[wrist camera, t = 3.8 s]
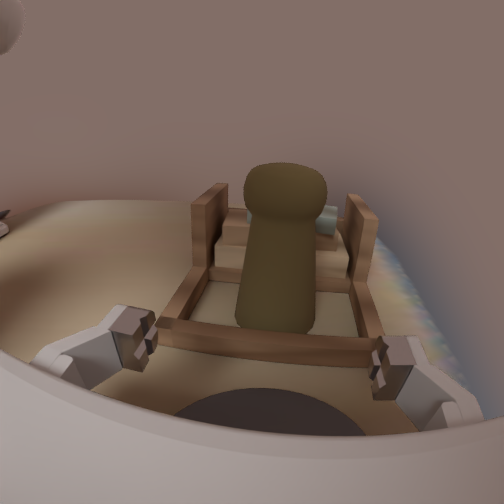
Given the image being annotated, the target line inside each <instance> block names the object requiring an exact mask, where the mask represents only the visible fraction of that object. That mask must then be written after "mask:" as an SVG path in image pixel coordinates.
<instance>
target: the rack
mask: <svg viewBox="0 0 504 504" xmlns="http://www.w3.org/2000/svg"><path fill="white" fill-rule="evenodd" d="M251 218H252V215H251V213H250V212H249V210H248V209H240V208H228V184H226V183H216V184H215V185H214V186H213V187H211V188H210V189H209V190H208V191H206V192H205V193H204V194H202V195H201V196H200V197H199V198H198V199H196V200H195V201H194V202H193V203H191V228H192V252H193V267H192V269H191V270H190V272H189V273H188V275H187V276H186V277H185V279H184V280H183V282H182V283H181V285H180V286H179V288H178V289H177V291H176V292H175V294H174V295H173V297H172V298H171V300H170V302H169V303H168V305H167V306H166V308H165V309H164V311H163V312H162V314H161V315H160V317H159V318H158V320H157V321H156V323H155V325H154V326H155V327H156V328H157V329H158V344H159V345H164V346H169V347H174V348H179V349H185V350H190V351H196V352H202V353H208V354H215V355H222V356H228V357H236V358H243V359H251V360H260V361H269V362H279V363H290V364H302V365H317V366H335V367H365V368H368V365H369V359H370V356H371V353H372V352H374V351H375V350H376V346H375V342H376V340H377V338H378V336H379V335H382V336H385V334H384V331H383V328H382V325H381V322H380V319H379V316H378V313H377V310H376V308H375V305H374V302H373V299H372V297H371V294H370V291H369V288H368V286H367V283H366V281H367V276H368V272H369V268H370V263H371V259H372V254H373V249H374V244H375V239H376V234H377V228H378V223H379V220H378V218H377V217H376V216H375V215H374V213H373V212H372V211H371V210H370V209H369V207H368V206H367V205H366V204H365V203H364V201H363V200H362V199H361V198H360V197H359V195H355V194H347V198H346V207H345V214H344V218H342V217H337V207H333V206H326V205H325V206H324V209H323V211H322V213H321V214H320V216H319V217H318V218H317V219H316V220H315V228H316V291H326V292H339V293H349V297H350V301H351V304H352V308H353V312H354V317H355V321H356V325H357V329H358V333H359V338H357V337H338V336H323V335H309V334H297V333H286V332H275V331H265V330H256V329H248V328H239V327H231V326H223V325H216V324H209V323H202V322H195V321H189V320H188V318H189V316H190V314H191V312H192V310H193V308H194V307H195V305H196V303H197V301H198V299H199V297H200V295H201V293H202V291H203V290H204V288H205V286H206V284H207V282H208V280H214V281H222V282H232V283H240V281H241V275H242V269H243V264H244V258H245V252H246V246H247V241H248V235H249V229H250V223H251Z"/></svg>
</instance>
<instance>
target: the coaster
mask: <svg viewBox="0 0 504 504" xmlns="http://www.w3.org/2000/svg"><path fill="white" fill-rule="evenodd" d="M174 416H176V417H180V418H185V419H189V420H194V421H199V422H204V423H209V424H214V425H220V426H226V427H232V428H239V429H246V430H253V431H261V432H271V433H281V434H294V435H311V436H366V435H365V434H364V432H363V431H362V430H361V429H360V428H359V427H358V426H357V425H356V424H355V423H354V422H353V421H352V420H351V419H350V418H348V417H347V416H346V415H345V414H343V413H342V412H340V411H339V410H337V409H336V408H334V407H332V406H330V405H328V404H326V403H325V402H322V401H320V400H318V399H315V398H313V397H310V396H307V395H303V394H300V393H296V392H291V391H286V390H279V389H268V388H249V389H239V390H233V391H228V392H223V393H219V394H216V395H212V396H209V397H207V398H204V399H201V400H199V401H197V402H195V403H193V404H191V405H189V406H187V407H186V408H184V409H182V410H181V411H179V412H178V413H176V414H175V415H174Z"/></svg>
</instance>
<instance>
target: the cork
mask: <svg viewBox="0 0 504 504" xmlns="http://www.w3.org/2000/svg"><path fill="white" fill-rule="evenodd" d="M326 199H327V186H326V182H325V180H324V178H323V176H322V175H321V174H320V173H319V172H318V171H316V170H314V169H312V168H309V167H306V166H302V165H298V164H293V163H269V164H263V165H259V166H256V167H255V168H253V169H252V170H251V171H250V172H249V174H248V176H247V178H246V181H245V184H244V201H245V205H246V207H247V209H248V210H249V212H250V213H251V215H252V218H251V223H250V229H249V235H248V241H247V246H246V252H245V258H244V264H243V269H242V275H241V281H240V287H239V293H238V299H237V304H236V310H235V319H236V321H237V324H238V325H239V326H240V327H241V328H248V329H256V330H265V331H275V332H286V333H297V334H306V333H307V332H308V331H309V330H310V329H311V328H312V327H313V324H314V321H315V293H316V228H315V220H316V219H317V218H318V217H319V216H320V214H321V213H322V211H323V209H324V206H325V203H326Z"/></svg>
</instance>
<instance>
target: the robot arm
mask: <svg viewBox="0 0 504 504" xmlns="http://www.w3.org/2000/svg"><path fill="white" fill-rule="evenodd" d="M24 25H25V10H24V7H23V5H22V3H21V2H20V1H19V0H0V56H1V55H3V54H5V53H8V52H9V51H10V50H11V49H12V48H13V47H14V46H15V44H16V43H17V41H18V40H19V38H20V36H21V34H22V31H23V28H24ZM7 232H9V229H8V226H7V225H6V224H4V223H3V222H1V221H0V237H1V236H3V235H4V234H6V233H7ZM155 321H156V318H155V313H154V312H153V311H151V310H146V309H142V308H137V307H132V306H127V305H122V304H116V305H115V306H114V307H113V308H112V310H111V311H110V312H109V313H108V314H107V315H106V316H105V318H104V319H103V320H102V321H101V322H100V323H99V325H98V326H97V327H94V326H93V327H90V328H88V329H85V330H83V331H80V332H78V333H75V334H73V335H71V336H68V337H66V338H63V339H61V340H58V341H56V342H53V343H51V344H48V345H46V346H44V347H43V349H42V350H41V351H40V352H39V353H38V354H37V355H36V356H35V357H34V359H33V360H32V361H31V362H30V363H29V364H28V363H26V362H25V361H23V360H21V359H19V358H17V357H15V356H13V355H11V354H9V353H8V352H6V351H4V350H2V349H0V504H504V416H500V417H497V418H493V419H489V420H484V417H483V414H482V412H481V409H480V407H479V404H478V402H477V400H476V397H474V396H473V395H472V394H471V393H469V392H468V391H467V390H465V389H464V388H463V387H462V386H460V385H459V384H458V383H456V382H455V381H454V380H453V379H451V378H450V377H449V376H447V375H446V374H445V373H444V372H442V371H441V370H440V369H438V368H437V367H436V366H434V365H430V363H429V361H428V359H427V356H426V354H425V352H424V349H423V347H422V345H421V342H420V340H419V338H418V337H417V336H416V335H414V336H382V335H379V336H378V338H377V340H376V342H375V346H376V350H375V351H374V352H372V353H371V356H370V359H369V365H368V373H369V378H370V379H371V380H372V381H373V383H372V386H371V389H372V394H373V400H395V402H396V404H397V405H398V406H399V407H400V408H401V410H402V411H403V412H404V413H405V414H406V415H407V417H408V418H409V419H410V420H411V421H412V423H413V424H414V425H415V426H416V427H417V428H418V430H419V431H420V432H413V433H403V434H391V435H374V436H311V435H294V434H281V433H271V432H261V431H253V430H246V429H239V428H232V427H226V426H220V425H214V424H209V423H204V422H199V421H194V420H189V419H185V418H180V417H176V416H172V415H168V414H164V413H160V412H156V411H152V410H149V409H145V408H142V407H138V406H135V405H132V404H128V403H125V402H122V401H119V400H116V399H113V398H110V397H107V396H104V395H101V394H99V393H96V392H93V391H90V390H91V389H92V388H94V387H95V386H97V385H98V384H100V383H102V382H103V381H105V380H106V379H108V378H109V377H111V376H112V375H114V374H116V373H117V372H119V371H120V370H122V369H123V368H126V369H130V370H134V371H138V372H143V371H144V369H145V367H146V365H147V364H148V362H149V358H148V355H150V354H152V353H154V351H155V349H156V347H157V344H158V329H157V328H156V327H155V326H154V325H153V324H154V322H155Z"/></svg>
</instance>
